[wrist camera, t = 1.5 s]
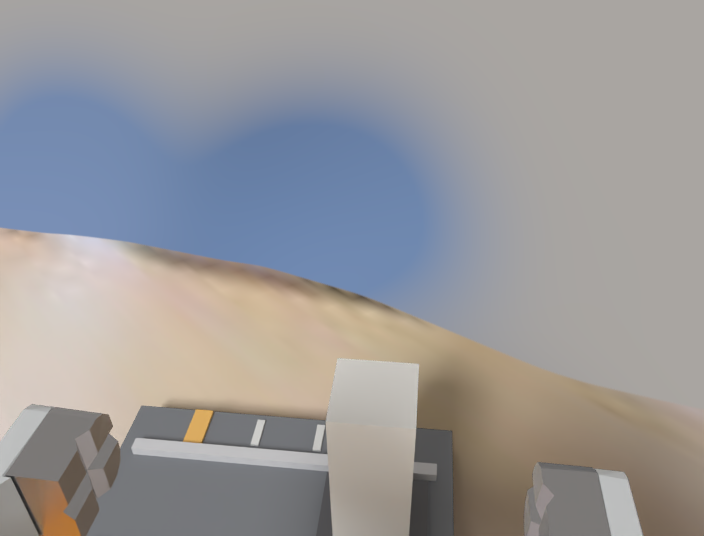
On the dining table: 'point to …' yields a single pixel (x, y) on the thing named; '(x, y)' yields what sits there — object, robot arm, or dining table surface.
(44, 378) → the dining table surface
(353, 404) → the fader knob
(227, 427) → the console
